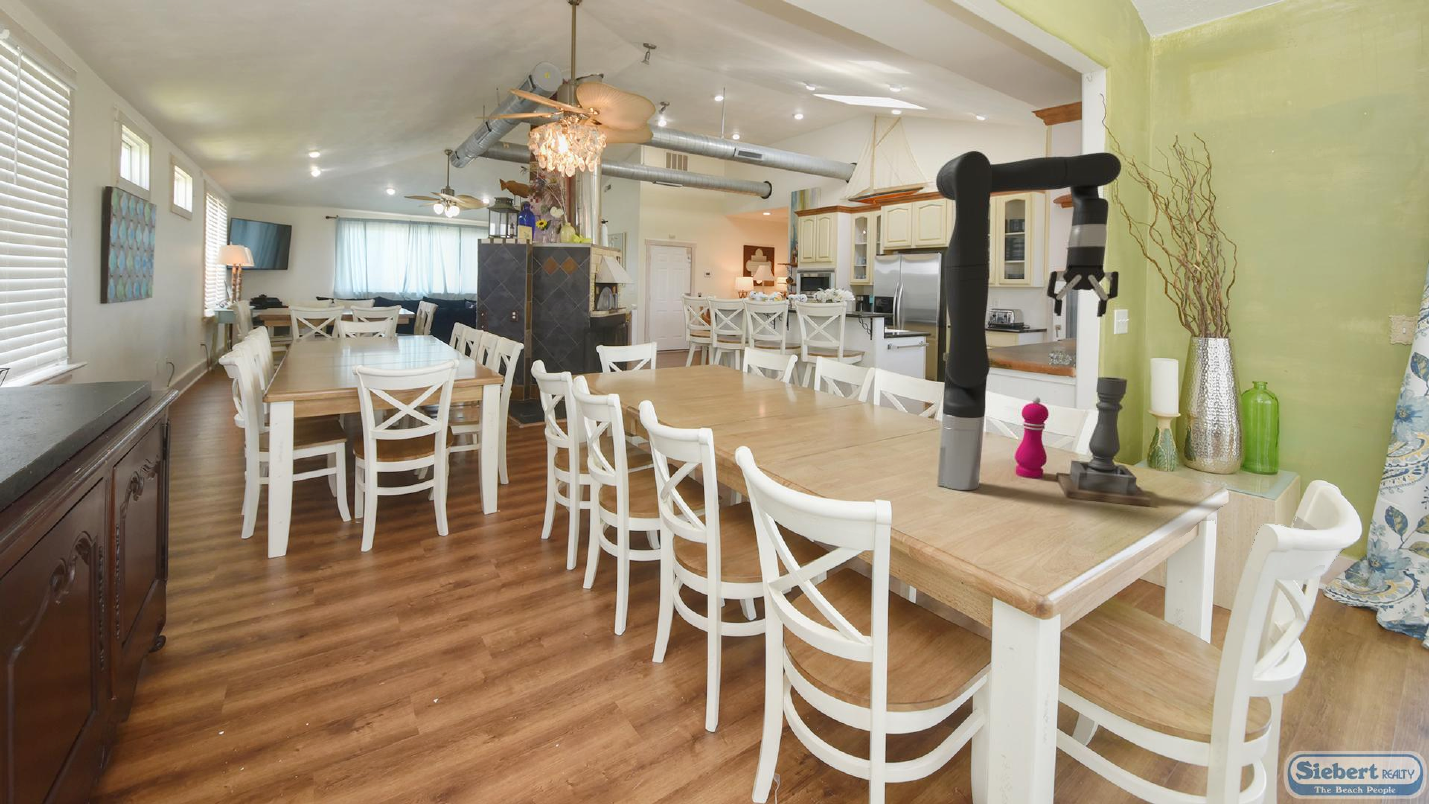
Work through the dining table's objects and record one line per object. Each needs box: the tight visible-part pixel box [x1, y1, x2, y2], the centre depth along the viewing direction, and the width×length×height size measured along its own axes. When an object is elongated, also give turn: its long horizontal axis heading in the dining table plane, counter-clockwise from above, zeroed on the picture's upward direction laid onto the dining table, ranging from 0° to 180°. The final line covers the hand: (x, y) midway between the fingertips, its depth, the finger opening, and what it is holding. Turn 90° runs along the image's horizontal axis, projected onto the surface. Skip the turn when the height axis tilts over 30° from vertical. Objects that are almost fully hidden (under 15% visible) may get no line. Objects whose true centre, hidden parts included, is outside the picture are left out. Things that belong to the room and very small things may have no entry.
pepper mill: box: [1014, 396, 1050, 479], centre depth 159 cm, size 7×7×20 cm
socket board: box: [1055, 460, 1152, 507], centre depth 147 cm, size 16×16×6 cm
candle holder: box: [1086, 376, 1128, 474], centre depth 145 cm, size 6×6×25 cm
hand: (1079, 316), depth 149 cm, fingers open, 8 cm apart
